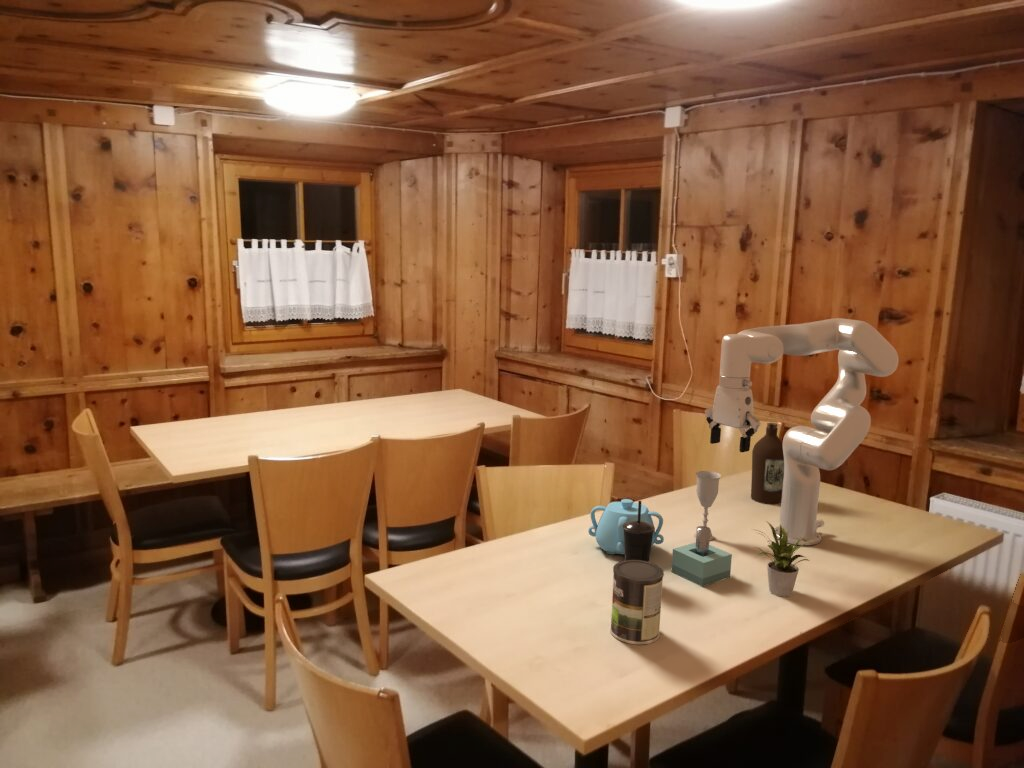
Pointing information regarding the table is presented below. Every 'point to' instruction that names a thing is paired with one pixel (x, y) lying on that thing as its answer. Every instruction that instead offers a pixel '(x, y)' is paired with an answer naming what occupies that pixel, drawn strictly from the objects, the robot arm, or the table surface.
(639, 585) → the coffee can
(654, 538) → the decorative pot
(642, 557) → the drinking cup
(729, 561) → the bore block
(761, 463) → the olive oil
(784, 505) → the robot arm
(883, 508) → the table surface
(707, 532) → the pin
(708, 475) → the chalice
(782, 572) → the house plant
